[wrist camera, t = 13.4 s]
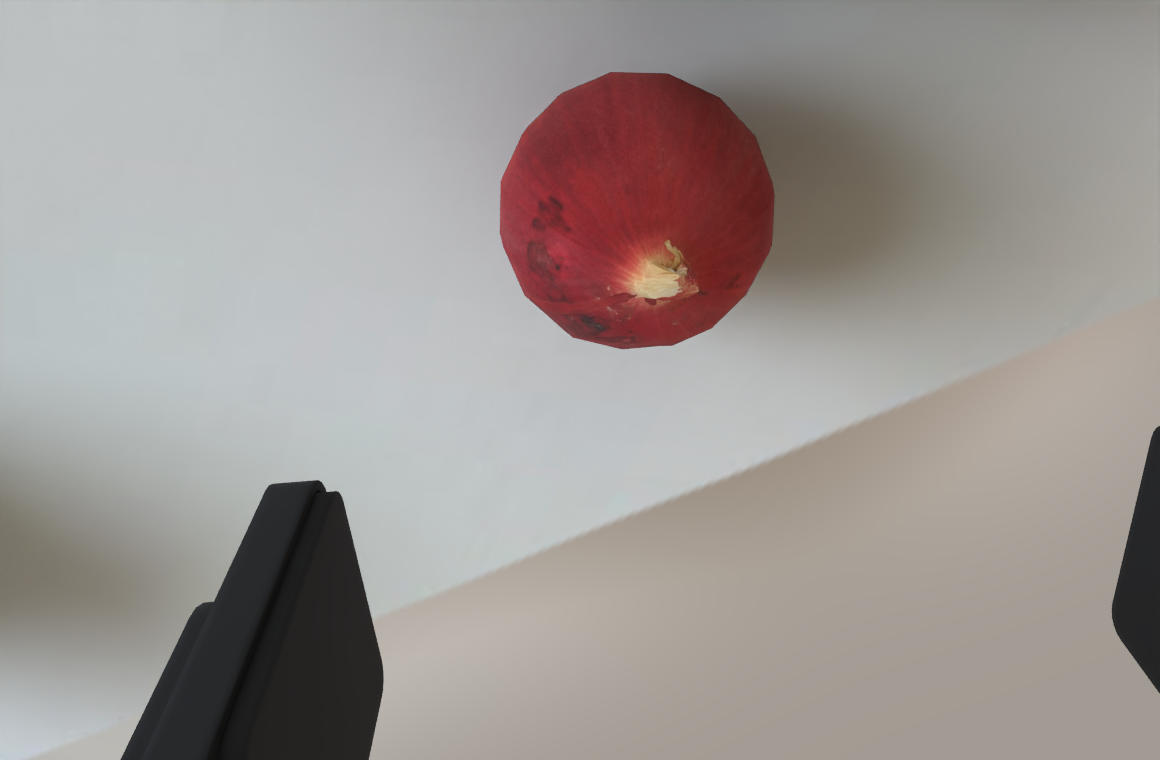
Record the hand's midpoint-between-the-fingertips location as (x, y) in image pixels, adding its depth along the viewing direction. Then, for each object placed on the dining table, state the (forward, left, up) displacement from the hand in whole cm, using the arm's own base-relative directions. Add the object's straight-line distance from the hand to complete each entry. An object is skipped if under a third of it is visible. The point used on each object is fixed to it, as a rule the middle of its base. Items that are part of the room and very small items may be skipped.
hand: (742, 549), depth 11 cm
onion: (0, 0, -15) cm, 15 cm away
